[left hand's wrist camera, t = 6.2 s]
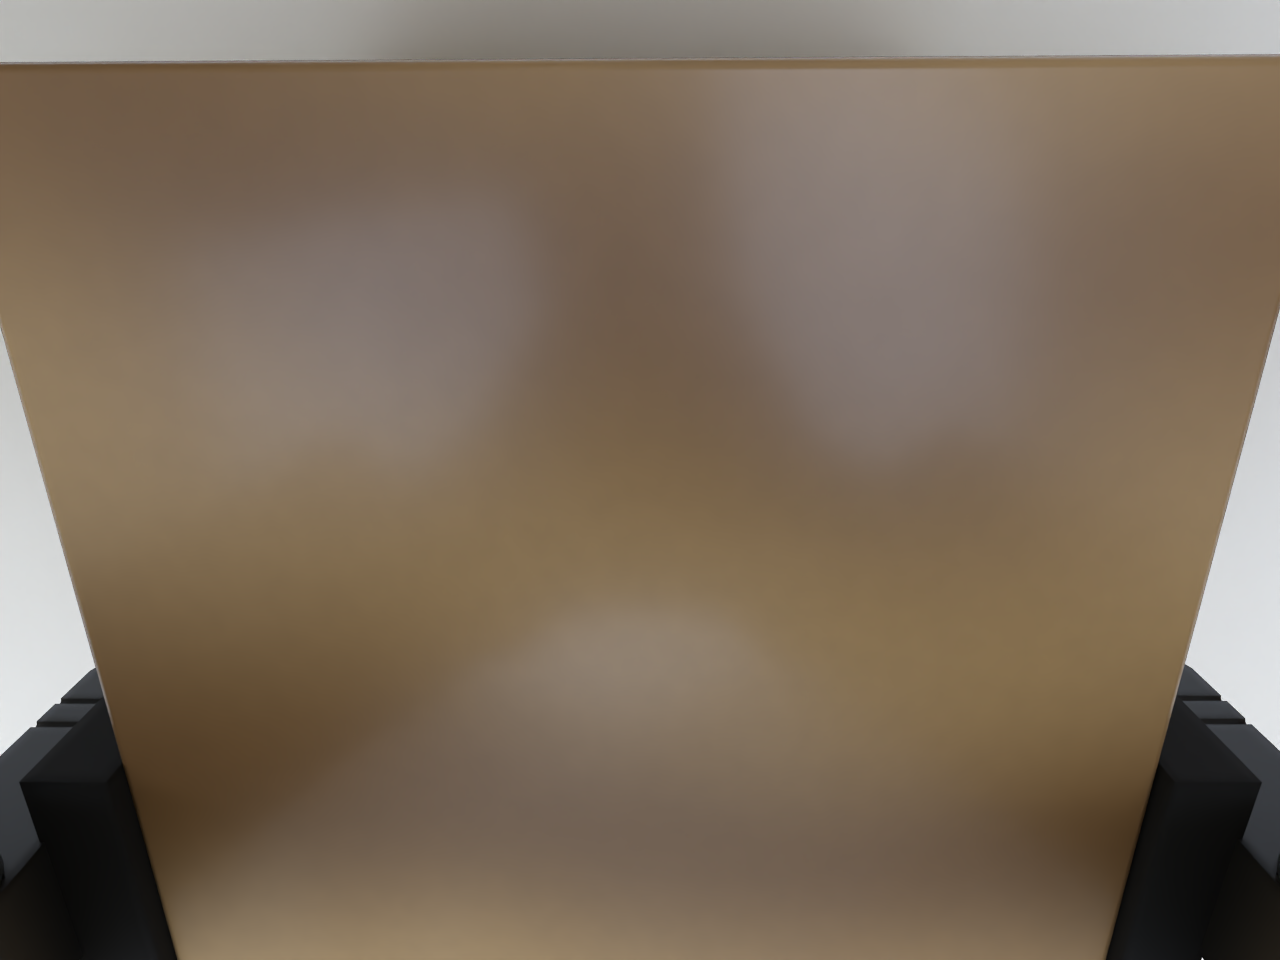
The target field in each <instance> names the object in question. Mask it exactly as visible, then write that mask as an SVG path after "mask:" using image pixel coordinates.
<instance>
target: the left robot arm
mask: <svg viewBox="0 0 1280 960" xmlns="http://www.w3.org/2000/svg"><path fill="white" fill-rule="evenodd" d="M1202 958H1203V959H1204V960H1280V751H1279V750H1278V749H1277V748H1276V747H1275V746H1274V745H1273V744H1272V743H1271V742H1270V741H1269V740H1267V739H1266V738H1265V737H1264V736H1263V735H1262V734H1261V733H1260V732H1259V731H1258V730H1257V729H1256V728H1255V727H1254V726H1253V725H1252V724H1246V723H1245V718H1244V717H1243V716H1242V715H1241V714H1240V713H1239V712H1238V711H1237V710H1236V709H1235V708H1233V707H1232V706H1231V705H1230V704H1229V703H1228V702H1227V701H1222V700H1221V695H1220V694H1219V693H1218V692H1216V691H1215V690H1214V689H1213V688H1212V687H1211V686H1210V685H1209V684H1208V683H1207V682H1206V681H1205V680H1204V679H1203V678H1202V677H1201V676H1199V675H1198V674H1197V673H1196V672H1195V671H1194V670H1193V669H1192V668H1190V667H1189V666H1187V665H1184V668H1183V672H1182V676H1181V680H1180V683H1179V687H1178V691H1177V695H1176V698H1175V702H1174V706H1173V710H1172V713H1171V717H1170V721H1169V725H1168V728H1167V732H1166V736H1165V740H1164V743H1163V747H1162V751H1161V755H1160V758H1159V762H1158V766H1157V769H1156V773H1155V777H1154V781H1153V784H1152V788H1151V792H1150V796H1149V799H1148V803H1147V807H1146V811H1145V814H1144V818H1143V822H1142V826H1141V829H1140V833H1139V837H1138V841H1137V844H1136V848H1135V852H1134V856H1133V859H1132V863H1131V867H1130V870H1129V874H1128V878H1127V882H1126V885H1125V889H1124V893H1123V897H1122V900H1121V904H1120V908H1119V912H1118V915H1117V919H1116V923H1115V927H1114V930H1113V934H1112V938H1111V942H1110V945H1109V949H1108V953H1107V957H1106V960H1201V959H1202ZM0 960H177V956H176V953H175V949H174V946H173V942H172V938H171V935H170V931H169V928H168V924H167V921H166V917H165V913H164V910H163V906H162V903H161V899H160V896H159V892H158V888H157V885H156V881H155V878H154V874H153V870H152V867H151V863H150V860H149V856H148V853H147V849H146V845H145V842H144V838H143V835H142V831H141V828H140V824H139V820H138V817H137V813H136V810H135V806H134V803H133V799H132V795H131V792H130V788H129V785H128V781H127V777H126V774H125V770H124V767H123V763H122V760H121V756H120V752H119V749H118V745H117V742H116V738H115V735H114V731H113V727H112V724H111V720H110V717H109V713H108V710H107V706H106V702H105V699H104V695H103V692H102V688H101V684H100V681H99V677H98V674H97V670H96V668H94V669H93V670H91V671H90V672H88V673H87V674H86V675H85V676H84V677H83V678H82V679H81V680H80V681H79V682H78V683H77V684H76V685H75V686H74V687H73V688H72V689H71V690H69V691H68V692H67V693H66V694H65V695H64V696H63V697H62V698H61V703H60V704H55V705H54V706H53V707H52V708H50V709H49V710H48V711H47V712H46V713H45V714H44V715H43V716H42V717H41V718H40V719H39V720H38V721H37V726H36V727H30V728H29V729H28V730H27V731H26V732H25V733H24V734H23V735H22V736H21V737H20V738H19V739H18V740H17V741H16V742H15V743H14V744H13V745H11V746H10V747H9V748H8V749H7V750H6V751H5V752H4V753H3V754H2V755H1V756H0Z"/></svg>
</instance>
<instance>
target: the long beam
mask: <svg viewBox="0 0 1280 960" xmlns="http://www.w3.org/2000/svg"><path fill="white" fill-rule="evenodd" d="M1279 309H1280V54H1249V55H1088V56H927V57H766V58H606V59H445V60H284V61H124V62H0V327H1V330H2V334H3V338H4V341H5V345H6V348H7V352H8V355H9V359H10V363H11V366H12V370H13V373H14V377H15V380H16V384H17V388H18V391H19V395H20V398H21V402H22V405H23V409H24V413H25V416H26V420H27V423H28V427H29V431H30V434H31V438H32V441H33V445H34V448H35V452H36V456H37V459H38V463H39V466H40V470H41V473H42V477H43V481H44V484H45V488H46V491H47V495H48V498H49V502H50V506H51V509H52V513H53V516H54V520H55V524H56V527H57V531H58V534H59V538H60V541H61V545H62V549H63V552H64V556H65V559H66V563H67V566H68V570H69V574H70V577H71V581H72V584H73V588H74V591H75V595H76V599H77V602H78V606H79V609H80V613H81V617H82V620H83V624H84V627H85V631H86V634H87V638H88V642H89V645H90V649H91V652H92V656H93V659H94V663H95V667H96V670H97V674H98V677H99V681H100V684H101V688H102V692H103V695H104V699H105V702H106V706H107V710H108V713H109V717H110V720H111V724H112V727H113V731H114V735H115V738H116V742H117V745H118V749H119V752H120V756H121V760H122V763H123V767H124V770H125V774H126V777H127V781H128V785H129V788H130V792H131V795H132V799H133V803H134V806H135V810H136V813H137V817H138V820H139V824H140V828H141V831H142V835H143V838H144V842H145V845H146V849H147V853H148V856H149V860H150V863H151V867H152V870H153V874H154V878H155V881H156V885H157V888H158V892H159V896H160V899H161V903H162V906H163V910H164V913H165V917H166V921H167V924H168V928H169V931H170V935H171V938H172V942H173V946H174V949H175V953H176V956H177V960H1106V957H1107V953H1108V949H1109V945H1110V942H1111V938H1112V934H1113V930H1114V927H1115V923H1116V919H1117V915H1118V912H1119V908H1120V904H1121V900H1122V897H1123V893H1124V889H1125V885H1126V882H1127V878H1128V874H1129V870H1130V867H1131V863H1132V859H1133V856H1134V852H1135V848H1136V844H1137V841H1138V837H1139V833H1140V829H1141V826H1142V822H1143V818H1144V814H1145V811H1146V807H1147V803H1148V799H1149V796H1150V792H1151V788H1152V784H1153V781H1154V777H1155V773H1156V769H1157V766H1158V762H1159V758H1160V755H1161V751H1162V747H1163V743H1164V740H1165V736H1166V732H1167V728H1168V725H1169V721H1170V717H1171V713H1172V710H1173V706H1174V702H1175V698H1176V695H1177V691H1178V687H1179V683H1180V680H1181V676H1182V672H1183V668H1184V665H1185V661H1186V657H1187V653H1188V650H1189V646H1190V642H1191V639H1192V635H1193V631H1194V627H1195V624H1196V620H1197V616H1198V612H1199V609H1200V605H1201V601H1202V597H1203V594H1204V590H1205V586H1206V582H1207V579H1208V575H1209V571H1210V567H1211V564H1212V560H1213V556H1214V552H1215V549H1216V545H1217V541H1218V537H1219V534H1220V530H1221V526H1222V523H1223V519H1224V515H1225V511H1226V508H1227V504H1228V500H1229V496H1230V493H1231V489H1232V485H1233V481H1234V478H1235V474H1236V470H1237V466H1238V463H1239V459H1240V455H1241V451H1242V448H1243V444H1244V440H1245V436H1246V433H1247V429H1248V425H1249V422H1250V418H1251V414H1252V410H1253V407H1254V403H1255V399H1256V395H1257V392H1258V388H1259V384H1260V380H1261V377H1262V373H1263V369H1264V365H1265V362H1266V358H1267V354H1268V350H1269V347H1270V343H1271V339H1272V335H1273V332H1274V328H1275V324H1276V320H1277V317H1278V313H1279Z"/></svg>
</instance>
